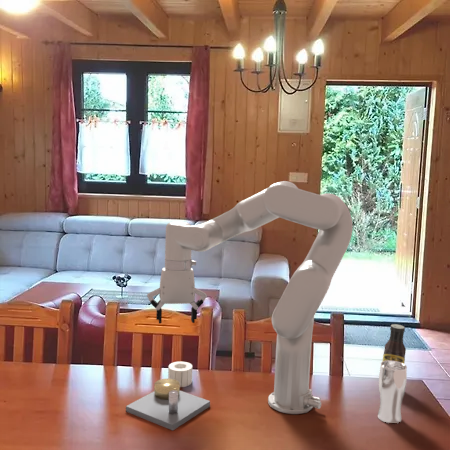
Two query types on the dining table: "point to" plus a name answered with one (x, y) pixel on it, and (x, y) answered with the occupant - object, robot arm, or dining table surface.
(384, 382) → the beer glass
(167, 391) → the brass disc
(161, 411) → the board
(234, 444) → the dining table surface
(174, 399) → the pin
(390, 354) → the sauce bottle
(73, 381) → the dining table surface
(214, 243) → the robot arm
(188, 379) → the ring
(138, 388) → the dining table surface
